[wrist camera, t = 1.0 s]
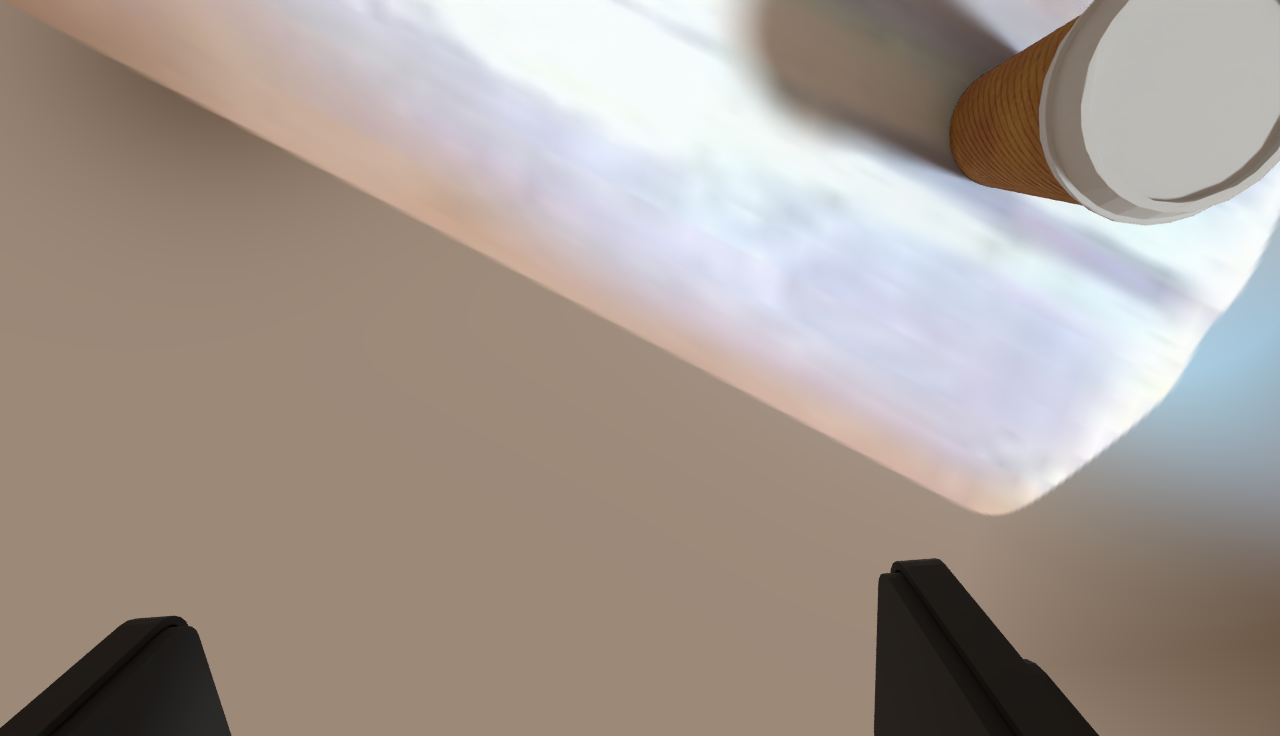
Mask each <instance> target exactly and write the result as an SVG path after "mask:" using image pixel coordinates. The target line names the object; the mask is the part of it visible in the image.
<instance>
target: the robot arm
mask: <svg viewBox="0 0 1280 736" xmlns="http://www.w3.org/2000/svg"><path fill="white" fill-rule="evenodd" d="M877 616H878V617H877V647H876V681H875V682H876V683H875V715H874V717H875V718H874V736H1099V735H1098V734H1097V733H1096V732H1095V730H1094V729H1093V728H1092V727H1091V726H1090V725H1089V723H1088V722H1087V721H1086V720H1085V719H1084V718H1083V716H1082V715H1081V714H1080V713H1079V711H1078V710H1077V709H1076V708H1075V707H1074V706H1073V704H1072V703H1071V702H1070V701H1069V700H1068V699H1067V697H1066V696H1065V695H1064V694H1063V693H1062V692H1061V690H1060V689H1059V688H1058V687H1057V686H1056V684H1055V683H1054V682H1053V681H1052V680H1051V678H1050V677H1049V676H1048V675H1047V674H1046V673H1045V672H1044V671H1043V670H1042V669H1041V668H1040V667H1039V666H1038V665H1036V664H1035V663H1033V662H1031V661H1029V660H1027V659H1022V657H1021V656H1020V655H1019V654H1018V652H1017V651H1016V650H1015V649H1014V648H1013V646H1012V645H1011V644H1010V643H1009V642H1008V640H1007V639H1006V638H1005V637H1004V635H1003V634H1002V633H1001V632H1000V631H999V629H998V628H997V627H996V626H995V625H994V623H993V622H992V621H991V620H990V618H989V617H988V616H987V615H986V614H985V612H984V611H983V610H982V609H981V608H980V606H979V605H978V604H977V603H976V601H975V600H974V599H973V598H972V597H971V595H970V594H969V593H968V592H967V591H966V590H965V588H964V587H963V586H962V584H961V583H960V582H959V581H958V580H957V578H956V577H955V576H954V575H953V574H952V572H951V571H950V570H949V569H948V568H947V566H946V565H945V564H944V563H943V562H942V561H941V560H940V559H936V558H934V559H921V560H909V561H896V562H894V563H893V565H892V568H891V573H885V574H881V575H880V578H879V584H878V613H877ZM0 736H231V733H230V730H229V727H228V724H227V721H226V717H225V714H224V711H223V708H222V705H221V702H220V699H219V696H218V693H217V690H216V687H215V684H214V681H213V678H212V674H211V672H210V669H209V665H208V662H207V659H206V656H205V653H204V650H203V647H202V644H201V641H200V638H199V635H198V633H197V631H196V630H195V629H194V628H193V627H190V626H188V624H187V623H186V621H185V620H184V619H182V618H181V617H178V616H165V617H151V618H139V619H133V620H129V621H126V622H125V623H123V624H122V625H120V626H119V627H118V628H117V629H115V630H114V631H113V632H112V633H111V634H110V635H108V636H107V637H106V638H105V639H104V640H103V641H101V642H100V643H99V644H98V645H97V646H96V647H94V648H93V649H92V650H91V651H90V652H89V653H87V654H86V655H85V656H84V657H83V658H82V659H80V660H79V661H78V662H77V663H76V664H75V665H73V666H72V667H71V668H70V669H69V670H68V671H66V672H65V673H64V674H63V675H62V676H61V677H59V678H58V679H57V680H56V681H55V682H54V683H52V684H51V685H50V686H49V687H48V688H47V689H46V690H44V691H43V692H42V693H41V694H40V695H38V696H37V697H36V698H35V699H34V700H33V701H31V702H30V703H29V704H28V705H27V706H26V707H25V708H23V709H22V710H21V711H20V712H19V713H17V714H16V715H15V716H14V717H13V718H12V719H10V720H9V721H8V722H7V723H6V724H5V725H3V726H2V727H1V728H0Z"/></svg>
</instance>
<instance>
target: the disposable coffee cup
mask: <svg viewBox="0 0 1280 736" xmlns="http://www.w3.org/2000/svg"><path fill="white" fill-rule="evenodd" d="M950 145H951V150H952V154H953V156H954V159H955V161H956V163H957V165H958V166H959V168H960V169H961V170H962V172H963V173H964V174H965V175H966V176H968V177H969V178H970V179H971V180H973V181H975V182H977V183H978V184H980V185H984V186H987V187H991V188H998V189H1003V190H1008V191H1013V192H1018V193H1023V194H1028V195H1032V196H1038V197H1043V198H1048V199H1053V200H1059V201H1064V202H1068V203H1072V204H1078V205H1083V206H1084V207H1086V208H1087V209H1088V210H1090V211H1092V212H1094V213H1097V214H1099V215H1101V216H1103V217H1105V218H1107V219H1109V220H1112V221H1116V222H1123V223H1131V224H1139V225H1154V224H1162V223H1170V222H1174V221H1177V220H1181V219H1184V218H1187V217H1191V216H1194V215H1196V214H1198V213H1200V212H1202V211H1204V210H1206V209H1207V208H1209V207H1211V206H1213V205H1216V204H1219V203H1222V202H1225V201H1228V200H1230V199H1232V198H1233V197H1235V196H1236V195H1238V194H1239V193H1241V192H1242V191H1244V190H1246V189H1247V188H1249V187H1250V186H1252V185H1253V184H1255V183H1256V182H1258V181H1260V180H1261V179H1262V178H1263V177H1264V176H1265V175H1266V174H1267V173H1268V172H1269V171H1270V170H1271V169H1272V168H1273V167H1274V166H1275V165H1276V164H1277V163H1278V162H1279V161H1280V0H1094V1H1093V2H1092V4H1091V5H1090V6H1089V7H1088V8H1087V9H1086V10H1085V11H1084V12H1083V13H1082V14H1081V15H1080V16H1078V17H1077V18H1075V19H1073V20H1072V21H1070V22H1068V23H1067V24H1065V25H1064V26H1062V27H1060V28H1058V29H1056V30H1055V31H1054V32H1052V33H1051V34H1049V35H1047V36H1046V37H1044V38H1042V39H1041V40H1039V41H1038V42H1036V43H1034V44H1033V45H1031V46H1029V47H1028V48H1026V49H1025V50H1023V51H1021V52H1020V53H1018V54H1017V55H1015V56H1013V57H1012V58H1010V59H1009V60H1007V61H1005V62H1004V63H1002V64H1000V65H999V66H997V67H995V68H994V69H992V70H990V71H989V72H987V73H985V74H984V75H982V76H980V77H979V78H978V79H977V80H976V81H974V82H973V83H972V84H971V85H970V86H969V87H968V89H967V90H966V91H965V92H964V93H963V95H962V97H961V98H960V100H959V102H958V104H957V106H956V108H955V110H954V113H953V116H952V120H951V127H950Z"/></svg>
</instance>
